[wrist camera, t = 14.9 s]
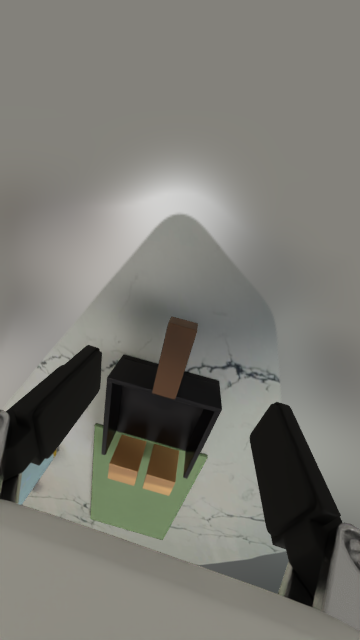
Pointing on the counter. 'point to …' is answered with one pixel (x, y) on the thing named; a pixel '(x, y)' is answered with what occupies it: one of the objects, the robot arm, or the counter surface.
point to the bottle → (32, 477)
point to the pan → (163, 397)
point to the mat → (137, 491)
